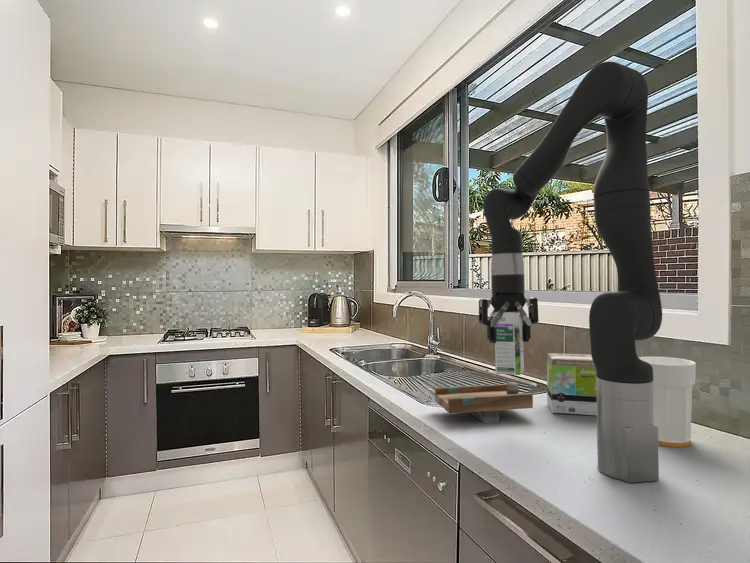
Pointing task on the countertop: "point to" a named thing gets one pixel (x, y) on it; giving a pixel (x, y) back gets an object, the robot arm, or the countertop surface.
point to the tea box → (571, 384)
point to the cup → (672, 398)
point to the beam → (483, 400)
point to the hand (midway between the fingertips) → (509, 342)
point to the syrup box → (509, 344)
